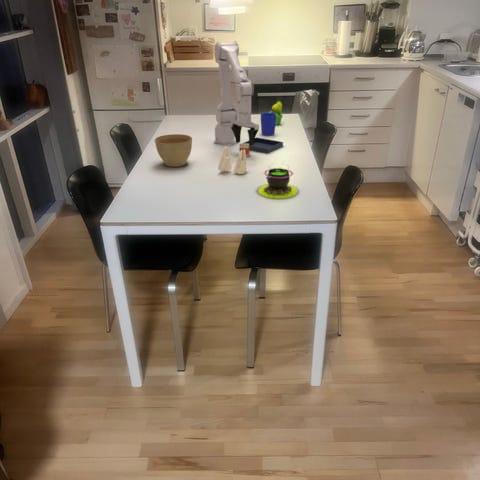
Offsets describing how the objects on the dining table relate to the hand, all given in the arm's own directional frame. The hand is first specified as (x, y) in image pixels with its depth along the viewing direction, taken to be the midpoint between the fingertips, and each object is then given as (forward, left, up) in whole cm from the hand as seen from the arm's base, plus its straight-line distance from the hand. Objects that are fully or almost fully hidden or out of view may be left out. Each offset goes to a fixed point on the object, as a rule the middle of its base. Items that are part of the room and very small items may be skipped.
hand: (244, 143), depth 217 cm
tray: (0, +15, -5) cm, 16 cm away
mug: (-11, +39, -6) cm, 41 cm away
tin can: (0, 0, -5) cm, 5 cm away
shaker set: (+9, -23, -6) cm, 25 cm away
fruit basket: (-20, +60, -6) cm, 63 cm away
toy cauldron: (+36, -31, -6) cm, 48 cm away
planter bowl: (-19, -27, -6) cm, 33 cm away
